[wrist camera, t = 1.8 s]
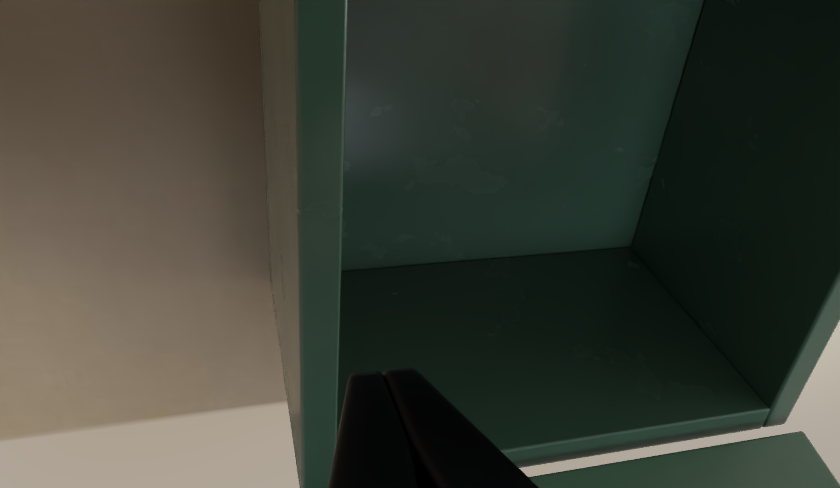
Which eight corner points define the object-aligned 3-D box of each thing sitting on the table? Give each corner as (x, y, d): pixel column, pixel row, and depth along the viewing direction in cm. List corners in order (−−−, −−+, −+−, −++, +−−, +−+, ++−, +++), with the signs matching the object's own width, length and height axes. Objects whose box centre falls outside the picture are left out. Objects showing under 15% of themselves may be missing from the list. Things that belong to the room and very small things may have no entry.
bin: (249, -199, 16) (292, -154, 9) (756, -157, 20) (1065, -102, 13) (270, 281, 24) (302, 505, 17) (634, 250, 27) (785, 425, 20)
